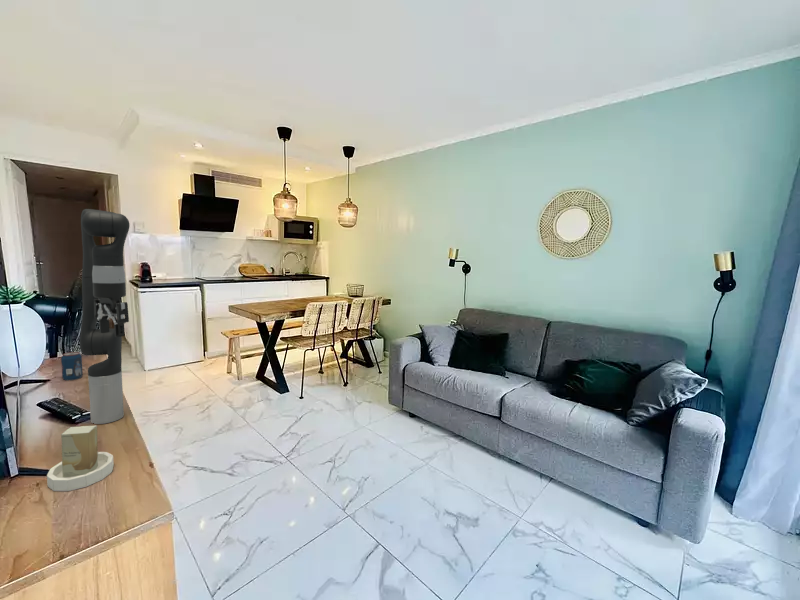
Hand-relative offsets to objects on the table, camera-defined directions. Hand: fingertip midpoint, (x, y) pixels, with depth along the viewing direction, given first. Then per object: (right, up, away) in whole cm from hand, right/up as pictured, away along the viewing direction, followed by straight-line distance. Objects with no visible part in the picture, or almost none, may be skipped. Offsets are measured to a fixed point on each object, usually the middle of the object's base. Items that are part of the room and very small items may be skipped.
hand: (112, 334), depth 106 cm
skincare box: (0, -37, -10) cm, 38 cm away
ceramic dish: (0, -38, -10) cm, 39 cm away
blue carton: (-66, -27, +58) cm, 92 cm away
